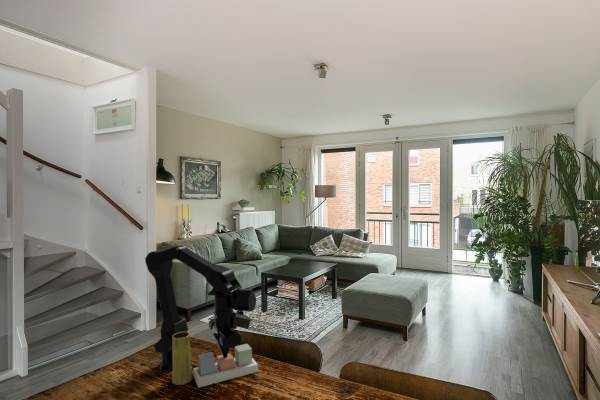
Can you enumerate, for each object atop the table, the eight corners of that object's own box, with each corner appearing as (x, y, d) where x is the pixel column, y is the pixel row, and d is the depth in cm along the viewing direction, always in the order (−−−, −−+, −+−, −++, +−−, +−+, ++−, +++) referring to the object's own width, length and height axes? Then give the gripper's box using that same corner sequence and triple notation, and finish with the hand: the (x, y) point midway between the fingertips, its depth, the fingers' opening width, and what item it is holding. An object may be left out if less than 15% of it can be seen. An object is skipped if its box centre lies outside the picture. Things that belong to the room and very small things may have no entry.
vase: (186, 386, 106) (184, 339, 105) (167, 384, 107) (166, 338, 107) (196, 376, 112) (194, 331, 111) (178, 374, 113) (177, 330, 113)
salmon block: (217, 371, 113) (216, 355, 113) (230, 367, 116) (230, 352, 115) (220, 377, 110) (220, 361, 110) (234, 373, 112) (234, 358, 112)
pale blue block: (198, 370, 111) (197, 355, 111) (212, 367, 113) (211, 351, 113) (201, 376, 107) (200, 360, 107) (215, 373, 109) (215, 357, 109)
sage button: (235, 361, 116) (234, 346, 116) (247, 358, 118) (247, 343, 118) (239, 367, 112) (238, 351, 112) (252, 363, 114) (251, 348, 114)
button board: (193, 375, 112) (193, 368, 112) (249, 361, 120) (249, 354, 120) (198, 387, 105) (198, 379, 105) (258, 371, 113) (257, 364, 113)
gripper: (257, 312, 108) (259, 362, 108) (239, 297, 124) (240, 341, 124) (222, 319, 103) (223, 372, 103) (207, 302, 119) (208, 348, 119)
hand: (225, 357), depth 112 cm, fingers closed, pressing on salmon block
